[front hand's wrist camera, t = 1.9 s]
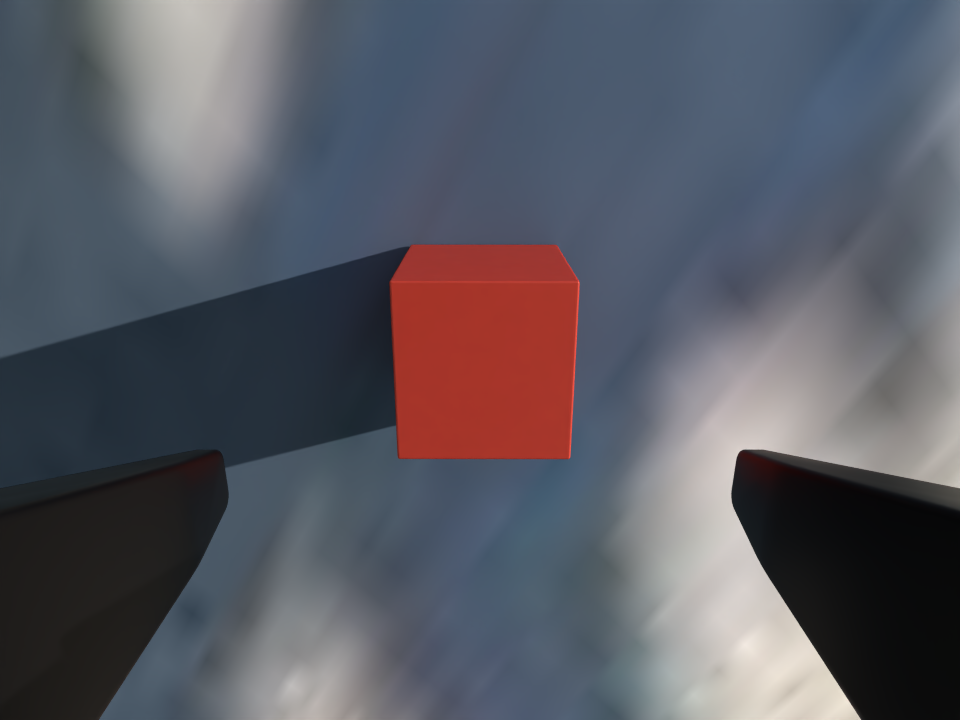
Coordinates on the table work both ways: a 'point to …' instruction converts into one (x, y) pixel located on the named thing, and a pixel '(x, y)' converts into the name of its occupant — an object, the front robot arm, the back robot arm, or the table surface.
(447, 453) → the brick
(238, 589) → the table surface
